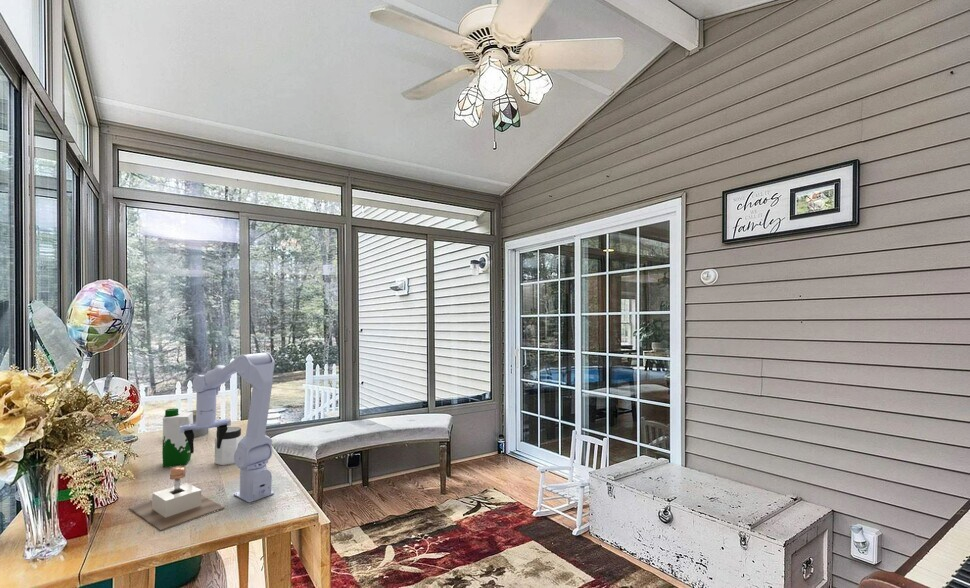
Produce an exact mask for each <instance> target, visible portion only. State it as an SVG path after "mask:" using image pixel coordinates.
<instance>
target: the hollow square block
mask: <svg viewBox="0 0 970 588" xmlns="http://www.w3.org/2000/svg"><path fill="white" fill-rule="evenodd" d="M201 495H202V489H201V488H199V487H197V486H194V485H192V484H190V483H189V482H185V483H180V493H177V494H174V486H171V487H168V488H164V489H161V490H158V491H155V492H152V499H151V501H152V509H153V510H155V511H156V512H158V513H159V514H161V515H162V516H164V517H165V518H166V517H169V516H172V515H175V514H178V513H181V512H184V511H187V510H190V509H193V508H196V507H199V506H201Z"/></svg>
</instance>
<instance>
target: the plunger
mask: <svg viewBox="0 0 970 588" xmlns="http://www.w3.org/2000/svg"><path fill="white" fill-rule="evenodd" d="M185 477H186V465H182V466H172V467H170V469H169V479H170V480H171V481H172V480H173V482H174V483H173V484H174V486H173V487H174V494H177V493H180V485H181V479H184V478H185Z"/></svg>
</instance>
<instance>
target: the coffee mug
mask: <svg viewBox="0 0 970 588" xmlns="http://www.w3.org/2000/svg"><path fill="white" fill-rule="evenodd" d="M186 412H193V423H196V409H194V410H189V411H187V410H186ZM193 433H194V438H199V437H203V436H206V435H208V434H209V428H207V429H200V430H194V431H193Z"/></svg>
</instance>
